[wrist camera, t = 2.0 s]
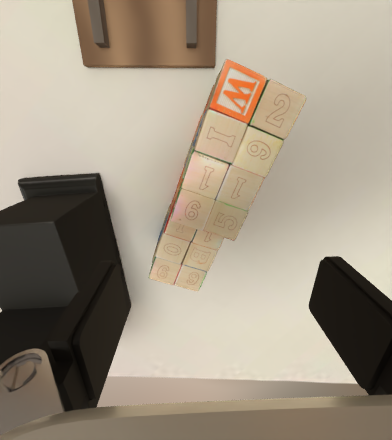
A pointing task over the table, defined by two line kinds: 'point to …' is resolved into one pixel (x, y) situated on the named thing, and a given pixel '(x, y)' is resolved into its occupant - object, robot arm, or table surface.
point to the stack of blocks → (223, 171)
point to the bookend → (50, 255)
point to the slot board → (147, 33)
